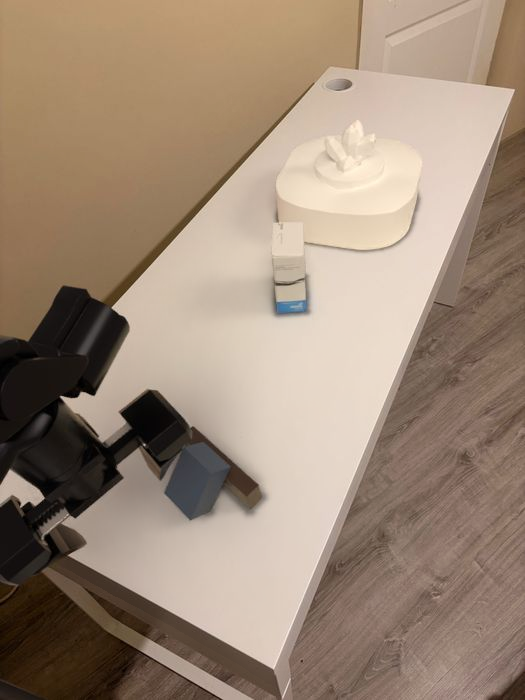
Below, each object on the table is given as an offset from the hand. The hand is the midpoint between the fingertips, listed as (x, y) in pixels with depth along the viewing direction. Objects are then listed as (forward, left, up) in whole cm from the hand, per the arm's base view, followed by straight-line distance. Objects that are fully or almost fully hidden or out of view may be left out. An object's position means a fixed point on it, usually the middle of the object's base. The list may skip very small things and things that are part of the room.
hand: (122, 507), depth 50 cm
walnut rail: (+12, 0, -11) cm, 16 cm away
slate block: (+8, 0, -8) cm, 11 cm away
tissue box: (+66, +23, -12) cm, 71 cm away
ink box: (+41, +15, -12) cm, 45 cm away
